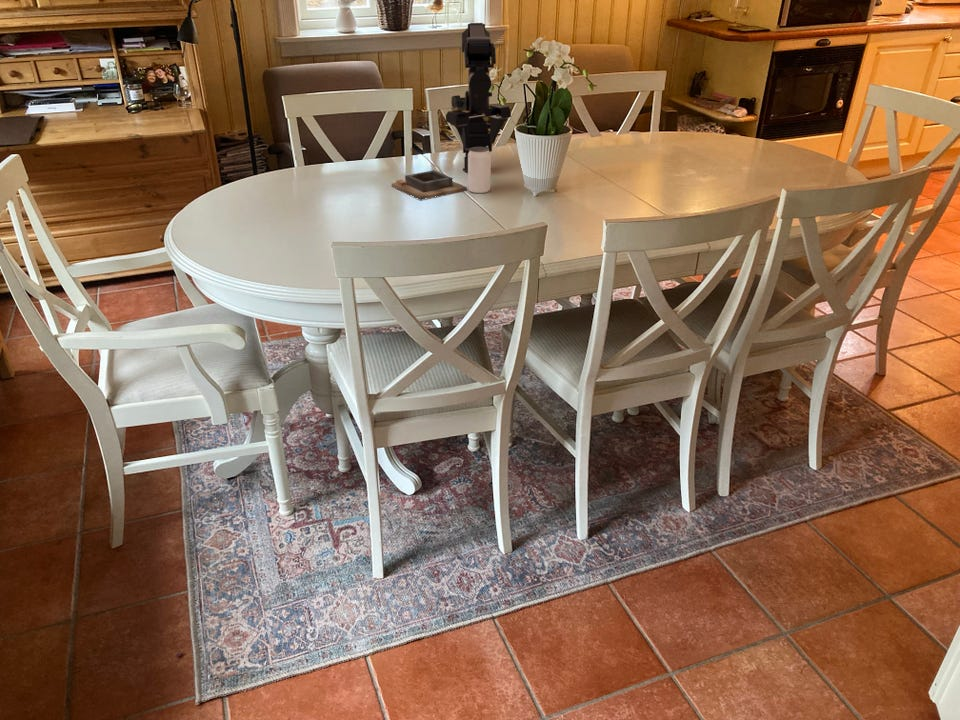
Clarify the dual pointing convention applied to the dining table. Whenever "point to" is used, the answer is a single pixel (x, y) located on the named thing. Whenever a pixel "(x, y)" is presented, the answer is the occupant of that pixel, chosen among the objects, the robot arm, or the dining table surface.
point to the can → (479, 169)
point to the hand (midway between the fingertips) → (478, 145)
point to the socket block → (428, 185)
